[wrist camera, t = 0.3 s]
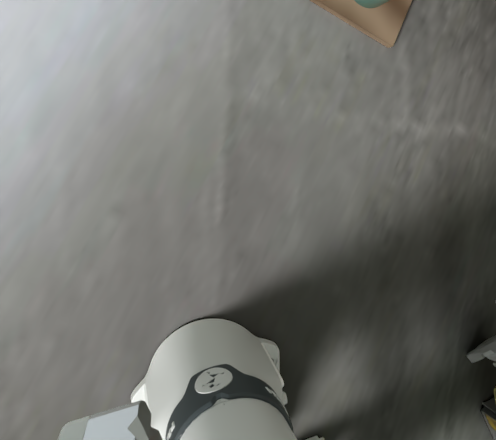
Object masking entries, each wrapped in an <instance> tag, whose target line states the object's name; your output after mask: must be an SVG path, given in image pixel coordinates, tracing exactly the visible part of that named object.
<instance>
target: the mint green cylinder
mask: <svg viewBox="0 0 496 440" xmlns="http://www.w3.org/2000/svg"><path fill="white" fill-rule="evenodd" d="M355 1H356V2H357V3H358V4H359V5H361V6H362V7H365V8H376V7H379V6H381V5H382V4H384V3H386V2H388V1H389V0H355Z"/></svg>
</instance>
